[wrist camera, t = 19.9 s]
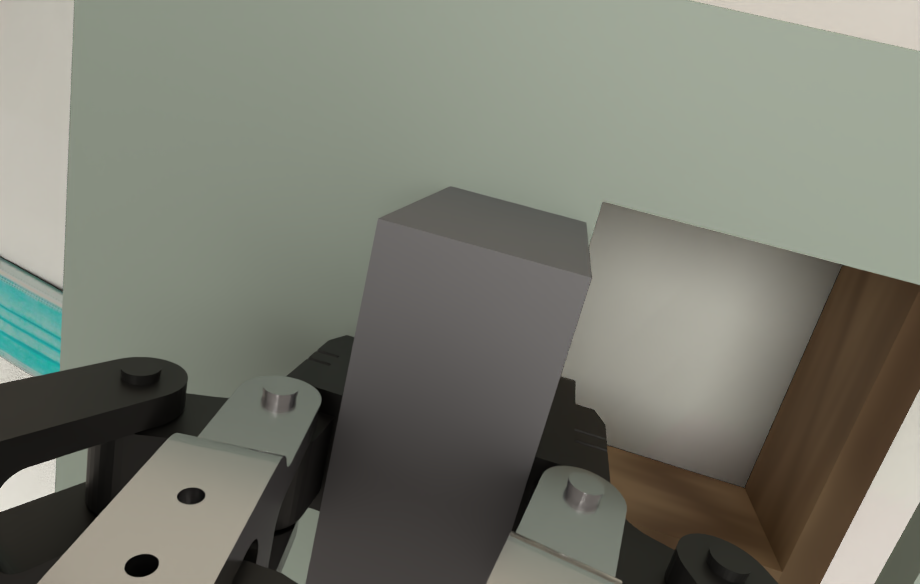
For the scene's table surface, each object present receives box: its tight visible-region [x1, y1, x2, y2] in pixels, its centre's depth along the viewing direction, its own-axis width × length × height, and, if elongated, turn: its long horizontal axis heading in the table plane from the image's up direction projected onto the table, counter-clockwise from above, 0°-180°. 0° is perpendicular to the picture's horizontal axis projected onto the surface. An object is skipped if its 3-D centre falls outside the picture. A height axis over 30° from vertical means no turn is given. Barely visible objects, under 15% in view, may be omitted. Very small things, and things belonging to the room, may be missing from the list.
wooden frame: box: [607, 265, 920, 584], centre depth 22 cm, size 22×15×5 cm
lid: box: [55, 0, 920, 584], centre depth 12 cm, size 24×17×6 cm
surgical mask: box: [0, 257, 63, 377], centre depth 28 cm, size 21×4×10 cm
